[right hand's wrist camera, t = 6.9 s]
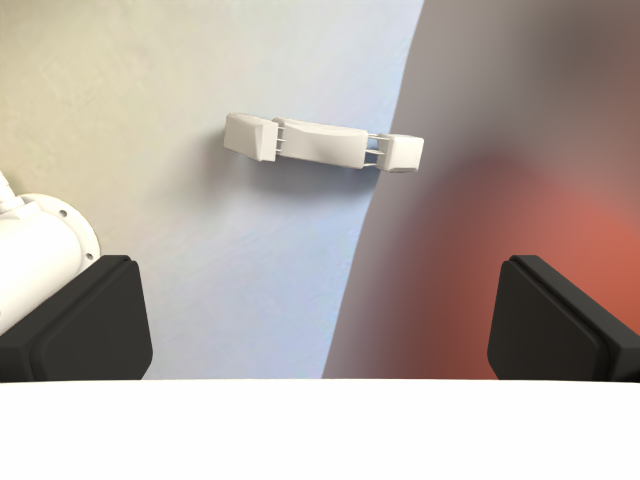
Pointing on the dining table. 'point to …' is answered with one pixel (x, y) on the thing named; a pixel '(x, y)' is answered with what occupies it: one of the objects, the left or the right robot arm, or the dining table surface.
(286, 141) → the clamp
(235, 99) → the dining table surface
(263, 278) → the dining table surface
